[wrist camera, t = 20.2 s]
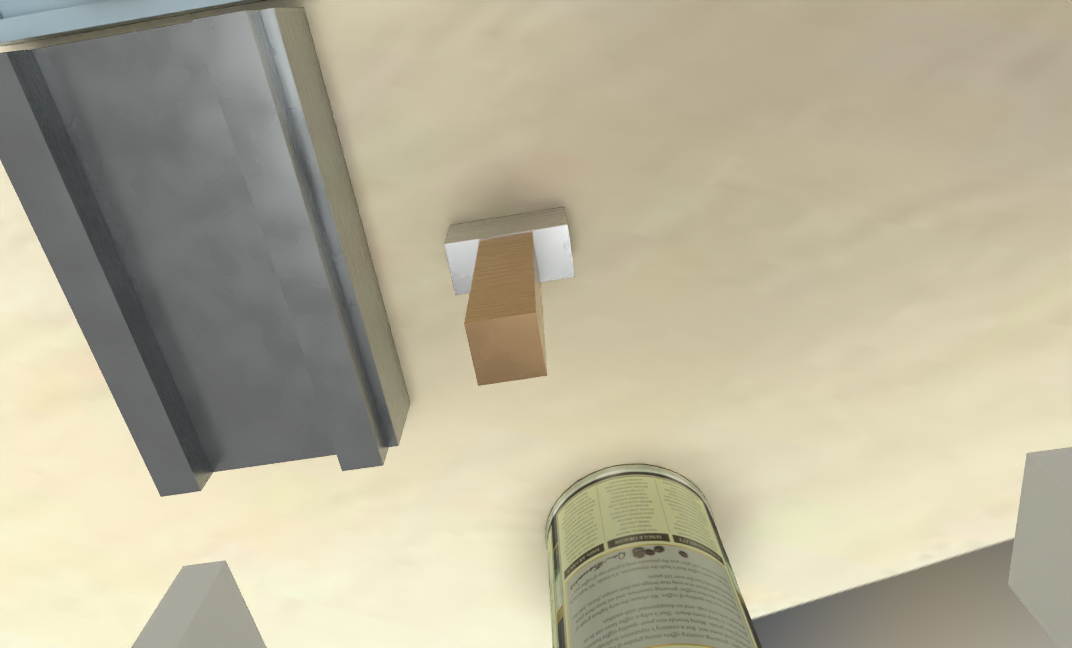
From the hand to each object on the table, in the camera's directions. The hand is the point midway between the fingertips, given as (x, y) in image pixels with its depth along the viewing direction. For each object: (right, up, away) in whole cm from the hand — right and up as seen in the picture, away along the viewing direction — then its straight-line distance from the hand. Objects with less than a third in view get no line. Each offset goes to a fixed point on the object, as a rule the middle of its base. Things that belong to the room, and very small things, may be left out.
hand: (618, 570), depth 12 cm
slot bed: (-16, +8, +22) cm, 29 cm away
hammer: (-3, +8, +23) cm, 24 cm away
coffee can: (+4, -8, +31) cm, 32 cm away
